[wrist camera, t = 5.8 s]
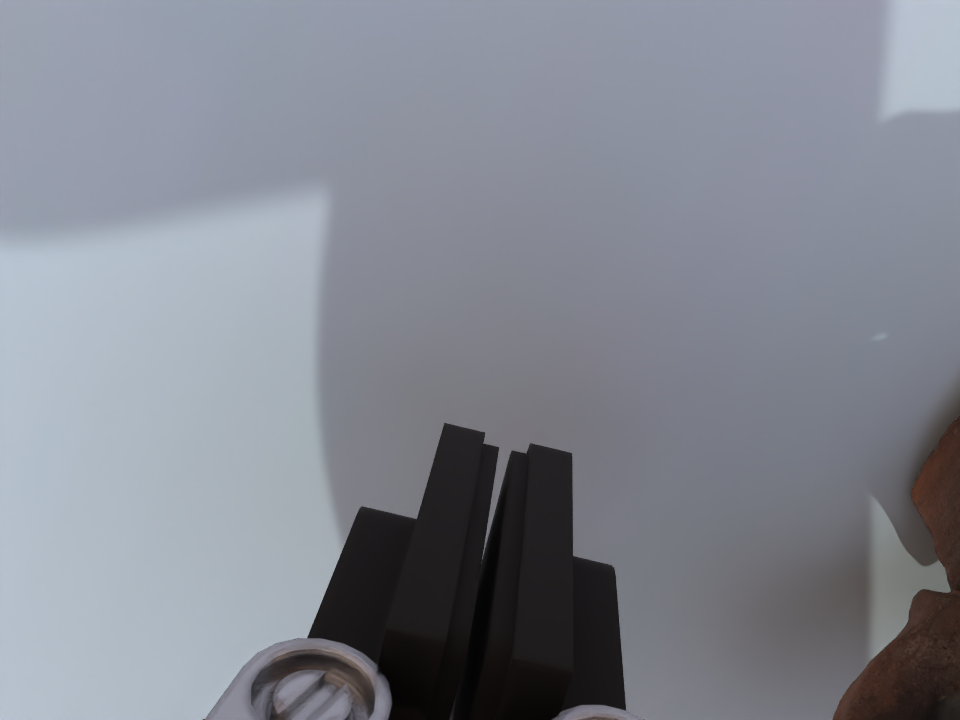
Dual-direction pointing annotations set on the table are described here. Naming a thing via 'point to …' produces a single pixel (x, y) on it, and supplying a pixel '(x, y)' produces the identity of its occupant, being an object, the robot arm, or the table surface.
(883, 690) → the brown piece
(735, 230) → the table surface
